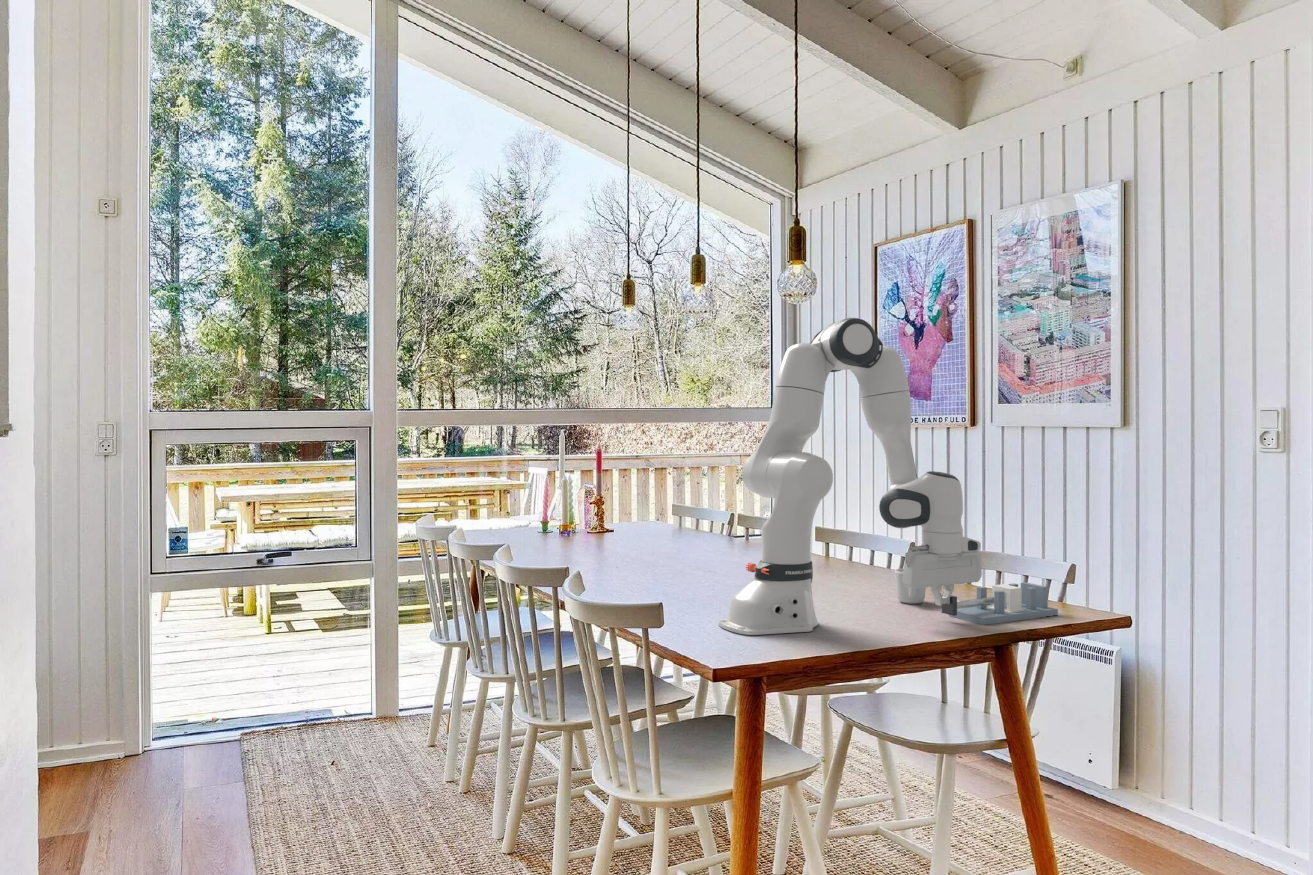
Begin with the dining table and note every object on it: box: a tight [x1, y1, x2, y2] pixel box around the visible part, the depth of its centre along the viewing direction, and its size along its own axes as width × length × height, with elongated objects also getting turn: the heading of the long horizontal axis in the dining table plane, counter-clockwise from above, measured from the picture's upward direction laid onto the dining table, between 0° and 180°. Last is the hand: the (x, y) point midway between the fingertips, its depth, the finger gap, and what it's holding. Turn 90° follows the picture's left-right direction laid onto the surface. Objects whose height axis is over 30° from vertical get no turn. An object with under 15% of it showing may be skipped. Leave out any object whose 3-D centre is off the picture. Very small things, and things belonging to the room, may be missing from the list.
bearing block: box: [948, 581, 1059, 626], centre depth 222 cm, size 23×11×6 cm, turn 115°
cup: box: [894, 567, 927, 605], centre depth 237 cm, size 11×8×8 cm
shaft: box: [941, 593, 994, 617], centre depth 217 cm, size 14×4×4 cm, turn 115°
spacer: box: [991, 583, 1022, 611], centre depth 222 cm, size 4×6×5 cm, turn 25°
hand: (942, 604), depth 214 cm, fingers closed
